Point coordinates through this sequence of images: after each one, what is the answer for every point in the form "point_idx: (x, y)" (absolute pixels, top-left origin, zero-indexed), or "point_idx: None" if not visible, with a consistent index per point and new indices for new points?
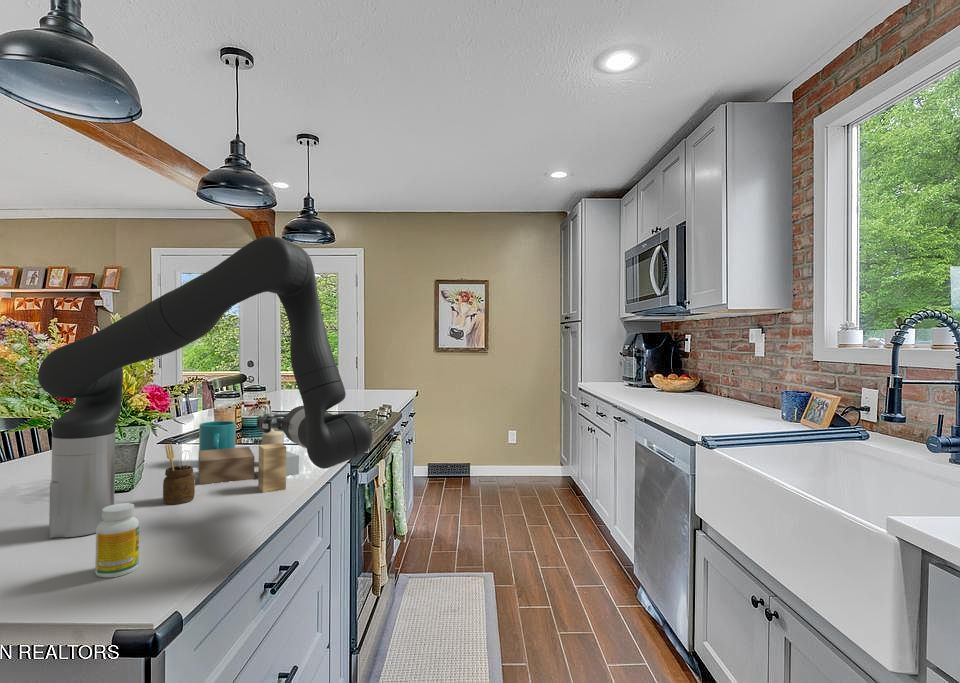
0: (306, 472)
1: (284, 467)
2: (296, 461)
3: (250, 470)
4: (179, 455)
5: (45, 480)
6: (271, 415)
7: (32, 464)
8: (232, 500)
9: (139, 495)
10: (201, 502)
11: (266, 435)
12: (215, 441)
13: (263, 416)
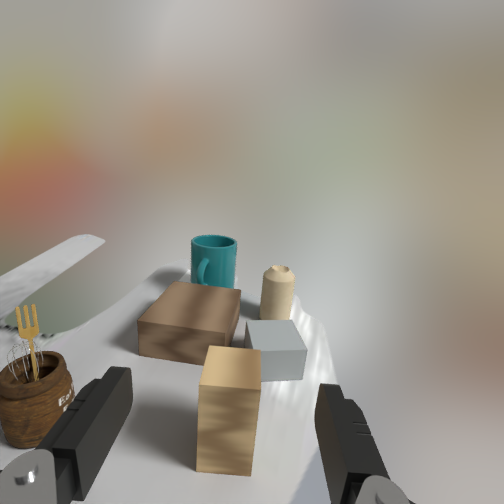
0: (317, 377)
1: (251, 433)
2: (301, 358)
3: None
4: (12, 350)
5: (43, 272)
6: (76, 444)
7: (82, 241)
8: (108, 495)
9: None
10: None
11: (267, 279)
12: (199, 270)
13: (90, 389)
